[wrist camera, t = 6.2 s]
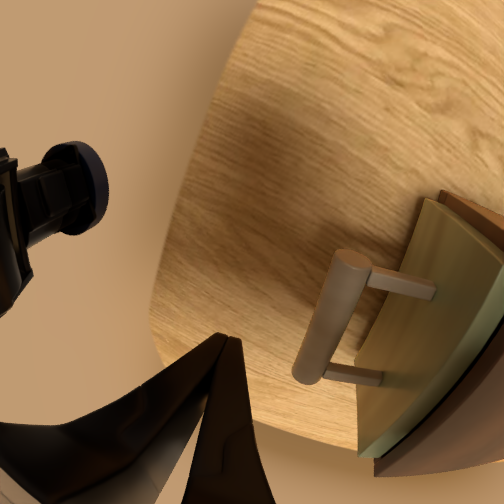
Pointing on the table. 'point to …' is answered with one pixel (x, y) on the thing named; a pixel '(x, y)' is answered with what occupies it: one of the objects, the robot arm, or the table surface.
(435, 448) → the cabinet
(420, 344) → the drawer
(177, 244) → the table surface
